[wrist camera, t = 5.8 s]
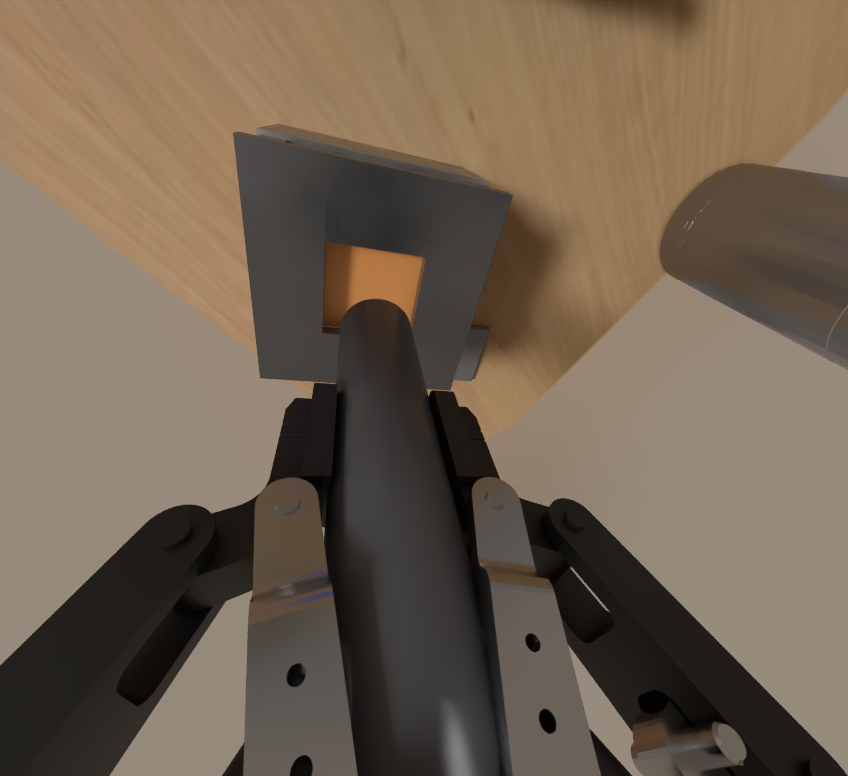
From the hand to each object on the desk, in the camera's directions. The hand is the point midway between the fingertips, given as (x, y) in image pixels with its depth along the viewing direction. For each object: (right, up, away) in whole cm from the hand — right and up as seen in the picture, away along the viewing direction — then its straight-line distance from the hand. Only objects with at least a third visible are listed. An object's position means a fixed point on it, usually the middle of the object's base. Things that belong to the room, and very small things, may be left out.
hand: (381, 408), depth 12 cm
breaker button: (-2, +9, +11) cm, 15 cm away
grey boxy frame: (-3, +12, +14) cm, 19 cm away
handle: (-1, +3, +4) cm, 5 cm away
